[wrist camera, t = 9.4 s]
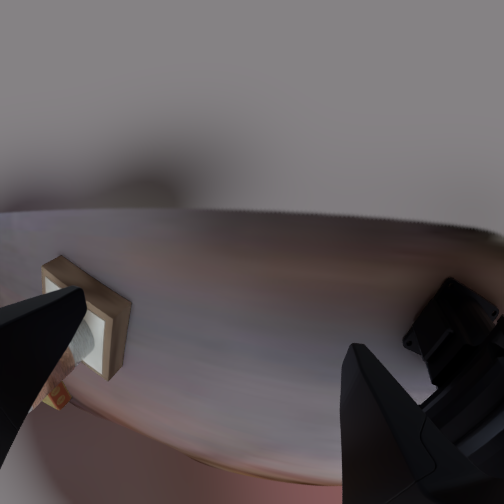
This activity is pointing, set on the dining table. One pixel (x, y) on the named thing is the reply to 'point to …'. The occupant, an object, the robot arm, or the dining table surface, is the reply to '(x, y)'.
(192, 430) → the dining table surface
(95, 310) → the board
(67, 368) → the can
